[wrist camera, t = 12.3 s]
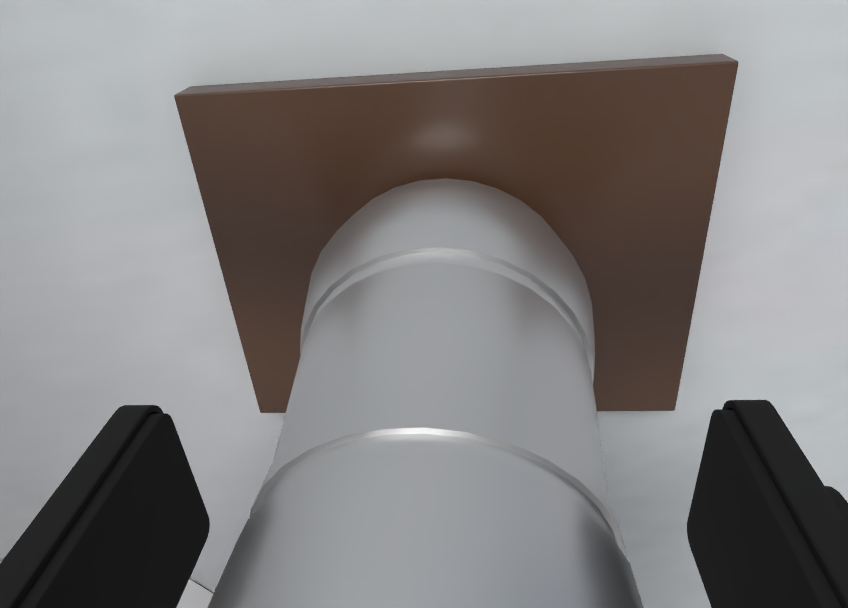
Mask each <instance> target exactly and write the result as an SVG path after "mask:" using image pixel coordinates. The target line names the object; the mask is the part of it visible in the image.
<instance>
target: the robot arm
mask: <svg viewBox="0 0 848 608" xmlns="http://www.w3.org/2000/svg"><path fill="white" fill-rule="evenodd" d="M209 526H210V523H209V516H208V514H207V511H206V508H205V506H204V503H203V500H202V498H201V495H200V492H199V490H198V487H197V484H196V482H195V479H194V476H193V474H192V471H191V468H190V466H189V463H188V460H187V458H186V455H185V452H184V450H183V447H182V444H181V442H180V439H179V436H178V434H177V431H176V428H175V425H174V423H173V420H172V418H171V416H170V415H168V414H164V413H163V411H162V410H161V408H160V407H158V406H155V405H124V406H122V407H119V408H118V409H117V410H116V411H115V413H114V414H113V415H112V417H111V418H110V419H109V421H108V422H107V423H106V425H105V426H104V427H103V429H102V430H101V431H100V433H99V434H98V435H97V436H96V438H95V439H94V440H93V442H92V443H91V444H90V446H89V447H88V448H87V450H86V451H85V452H84V454H83V455H82V456H81V458H80V459H79V460H78V462H77V463H76V464H75V466H74V467H73V468H72V470H71V471H70V472H69V474H68V475H67V476H66V477H65V479H64V480H63V481H62V483H61V484H60V485H59V487H58V488H57V489H56V491H55V492H54V493H53V495H52V496H51V497H50V499H49V500H48V501H47V503H46V504H45V505H44V507H43V508H42V509H41V511H40V512H39V513H38V514H37V516H36V517H35V518H34V520H33V521H32V522H31V524H30V525H29V526H28V528H27V529H26V530H25V532H24V533H23V534H22V536H21V537H20V538H19V540H18V541H17V542H16V544H15V545H14V546H13V548H12V549H11V550H10V551H9V553H8V554H7V555H6V557H5V558H4V559H3V561H2V562H1V563H0V608H177V605H178V603H179V601H180V599H181V596H182V594H183V592H184V590H185V587H186V585H187V583H188V581H189V578H190V576H191V574H192V572H193V569H194V567H195V565H196V562H197V560H198V558H199V556H200V553H201V551H202V549H203V547H204V544H205V542H206V540H207V537H208V533H209ZM687 534H688V540H689V544H690V548H691V551H692V553H693V556H694V559H695V562H696V565H697V567H698V570H699V573H700V576H701V579H702V582H703V584H704V587H705V590H706V593H707V596H708V598H709V601H710V604H711V607H712V608H848V503H847V501H846V500H845V499H844V498H843V496H842V495H841V494H840V493H839V492H838V491H837V490H835V489H834V488H832V487H829V486H824V485H823V483H822V481H821V480H820V478H819V477H818V475H817V474H816V472H815V470H814V469H813V467H812V466H811V464H810V463H809V461H808V460H807V458H806V456H805V455H804V453H803V452H802V450H801V449H800V447H799V445H798V444H797V442H796V441H795V439H794V438H793V436H792V434H791V433H790V431H789V430H788V428H787V427H786V425H785V423H784V422H783V420H782V419H781V417H780V416H779V414H778V413H777V411H776V409H775V408H774V406H773V405H772V404H771V403H770V402H769V401H767V400H729V401H727V402H726V403H725V404H724V407H723V409H722V410H714V411H713V413H712V416H711V420H710V424H709V429H708V433H707V437H706V442H705V446H704V451H703V455H702V459H701V464H700V468H699V473H698V477H697V482H696V486H695V490H694V495H693V499H692V504H691V508H690V513H689V517H688V522H687Z"/></svg>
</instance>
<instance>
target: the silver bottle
mask: <svg viewBox="0 0 848 608" xmlns="http://www.w3.org/2000/svg"><path fill="white" fill-rule="evenodd" d="M300 355H301V356H300V360H299V364H298V368H297V372H296V376H295V379H294V383H293V387H292V391H291V395H290V399H289V402H288V406H287V410H286V414H285V418H284V422H283V425H282V429H281V433H280V437H279V441H278V445H277V448H276V452H275V456H274V460H273V463H272V465H271V467H270V469H269V471H268V474H267V476H266V478H265V480H264V482H263V485H262V487H261V489H260V491H259V494H258V496H257V498H256V500H255V502H254V505H253V507H252V509H251V514H250V518H249V519H248V521H247V523H246V525H245V527H244V529H243V531H242V533H241V535H240V536H239V538H238V540H237V542H236V545H235V547H234V549H233V551H232V554H231V556H230V558H229V560H228V563H227V565H226V567H225V569H224V571H223V574H222V576H221V578H220V580H219V583H218V585H217V587H216V589H215V592H214V594H213V596H212V598H211V601H210V603H209V605H208V607H207V608H643V605H642V601H641V598H640V595H639V592H638V588H637V585H636V582H635V579H634V576H633V572H632V569H631V566H630V563H629V562H628V560H627V559H626V551H625V547H624V544H623V541H622V537H621V534H620V531H619V527H618V524H617V521H616V518H615V515H614V512H613V508H612V505H611V502H610V499H609V494H608V487H607V480H606V473H605V466H604V459H603V452H602V445H601V438H600V431H599V424H598V417H597V410H596V403H595V396H594V389H593V381H594V366H595V336H594V324H593V312H592V302H591V298H590V294H589V291H588V287H587V283H586V279H585V277H584V275H583V273H582V271H581V270H580V268H579V266H578V264H577V262H576V260H575V258H574V256H573V255H572V254H571V252H570V251H569V250H568V248H567V247H566V246H565V245H564V243H563V242H562V241H561V239H560V238H559V237H558V236H557V234H556V233H555V232H554V231H553V230H552V228H551V227H550V226H549V225H548V224H547V222H546V221H545V220H544V219H543V218H542V217H541V216H540V215H539V214H538V213H536V212H535V211H534V210H533V209H531V208H530V207H529V206H528V205H526V204H525V203H524V202H522V201H521V200H519V199H517V198H515V197H513V196H511V195H509V194H507V193H505V192H503V191H502V190H500V189H497V188H494V187H491V186H487V185H484V184H480V183H477V182H474V181H466V180H457V179H447V178H444V179H432V180H420V181H416V182H412V183H409V184H405V185H402V186H398V187H395V188H393V189H391V190H389V191H387V192H385V193H383V194H381V195H379V196H377V197H375V198H373V199H372V200H371V201H369V202H368V203H367V204H366V205H365V206H363V207H362V208H361V209H360V210H358V211H357V212H356V213H355V214H354V215H353V216H352V217H351V218H350V219H349V220H348V221H347V222H346V223H345V224H343V225H342V226H341V227H340V228H339V229H338V230H337V231H336V233H335V234H334V235H333V237H332V238H331V239H330V241H329V242H328V243H327V244H326V246H325V247H324V248H323V250H322V251H321V253H320V255H319V258H318V260H317V262H316V264H315V267H314V269H313V271H312V273H311V279H310V284H309V289H308V294H307V299H306V304H305V309H304V315H303V321H302V326H301V342H300Z"/></svg>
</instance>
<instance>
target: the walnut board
mask: <svg viewBox="0 0 848 608" xmlns="http://www.w3.org/2000/svg"><path fill="white" fill-rule="evenodd" d="M737 68H738V61H736V60H734V59H732V58H730V57H728V56H726V55H723V54H714V55H697V56H681V57H665V58H648V59H632V60H616V61H600V62H583V63H567V64H551V65H534V66H518V67H502V68H485V69H469V70H453V71H436V72H420V73H404V74H388V75H371V76H355V77H339V78H322V79H306V80H290V81H273V82H257V83H241V84H224V85H208V86H192V87H189V88H187V89H185V90H183V91H181V92H179V93H177V94H176V95H175V96H174V97H175V101H176V105H177V108H178V112H179V116H180V119H181V123H182V127H183V130H184V134H185V138H186V141H187V145H188V149H189V152H190V156H191V160H192V163H193V167H194V171H195V174H196V178H197V182H198V185H199V189H200V193H201V196H202V200H203V204H204V207H205V211H206V215H207V218H208V222H209V226H210V229H211V233H212V237H213V240H214V244H215V248H216V251H217V255H218V259H219V262H220V266H221V270H222V273H223V277H224V281H225V284H226V288H227V292H228V295H229V299H230V303H231V306H232V310H233V314H234V317H235V321H236V325H237V328H238V332H239V336H240V339H241V343H242V347H243V350H244V354H245V358H246V361H247V365H248V369H249V372H250V376H251V380H252V383H253V387H254V391H255V394H256V398H257V402H258V405H259V409H260V412H261V413H286V410H287V406H288V402H289V399H290V395H291V391H292V387H293V383H294V379H295V376H296V372H297V368H298V364H299V360H300V356H301V355H300V342H301V326H302V321H303V315H304V309H305V304H306V299H307V294H308V289H309V284H310V279H311V273H312V271H313V269H314V267H315V264H316V262H317V260H318V258H319V255H320V253H321V251H322V250H323V248H324V247H325V246H326V244H327V243H328V242H329V241H330V239H331V238H332V237H333V235H334V234H335V233H336V231H337V230H338V229H339V228H340V227H341V226H342V225H343V224H345V223H346V222H347V221H348V220H349V219H350V218H351V217H352V216H353V215H354V214H355V213H356V212H357V211H358V210H360V209H361V208H362V207H363V206H365V205H366V204H367V203H368V202H369V201H371V200H372V199H373V198H375V197H377V196H379V195H381V194H383V193H385V192H387V191H389V190H391V189H393V188H395V187H398V186H402V185H405V184H409V183H412V182H416V181H420V180H432V179H444V178H447V179H457V180H466V181H474V182H477V183H480V184H484V185H487V186H491V187H494V188H497V189H500V190H502V191H503V192H505V193H507V194H509V195H511V196H513V197H515V198H517V199H519V200H521V201H522V202H524V203H525V204H526V205H528V206H529V207H530V208H531V209H533V210H534V211H535V212H536V213H538V214H539V215H540V216H541V217H542V218H543V219H544V220H545V221H546V222H547V224H548V225H549V226H550V227H551V228H552V230H553V231H554V232H555V233H556V234H557V236H558V237H559V238H560V239H561V241H562V242H563V243H564V245H565V246H566V247H567V248H568V250H569V251H570V252H571V254H572V255H573V256H574V258H575V260H576V262H577V264H578V266H579V268H580V270H581V271H582V273H583V275H584V277H585V279H586V283H587V287H588V291H589V294H590V298H591V302H592V312H593V324H594V336H595V366H594V381H593V389H594V396H595V403H596V410H597V411H674V410H675V406H676V401H677V395H678V390H679V384H680V379H681V373H682V368H683V362H684V357H685V352H686V346H687V341H688V335H689V330H690V324H691V319H692V313H693V308H694V302H695V297H696V291H697V286H698V281H699V275H700V270H701V264H702V259H703V253H704V248H705V242H706V237H707V231H708V226H709V220H710V215H711V210H712V204H713V199H714V193H715V188H716V182H717V177H718V171H719V166H720V160H721V155H722V149H723V144H724V139H725V133H726V128H727V122H728V117H729V111H730V106H731V100H732V95H733V89H734V84H735V79H736V73H737Z"/></svg>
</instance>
